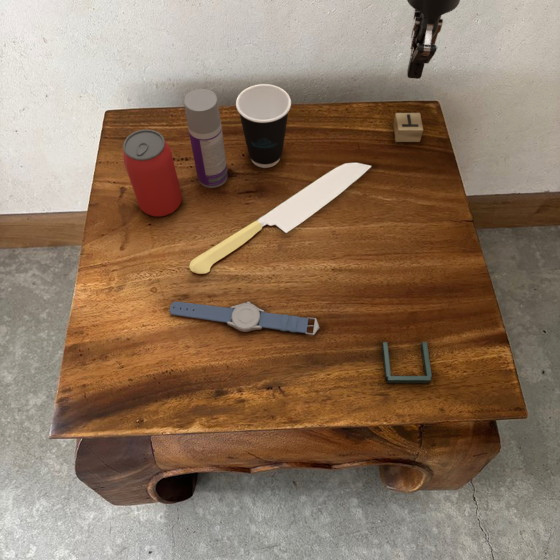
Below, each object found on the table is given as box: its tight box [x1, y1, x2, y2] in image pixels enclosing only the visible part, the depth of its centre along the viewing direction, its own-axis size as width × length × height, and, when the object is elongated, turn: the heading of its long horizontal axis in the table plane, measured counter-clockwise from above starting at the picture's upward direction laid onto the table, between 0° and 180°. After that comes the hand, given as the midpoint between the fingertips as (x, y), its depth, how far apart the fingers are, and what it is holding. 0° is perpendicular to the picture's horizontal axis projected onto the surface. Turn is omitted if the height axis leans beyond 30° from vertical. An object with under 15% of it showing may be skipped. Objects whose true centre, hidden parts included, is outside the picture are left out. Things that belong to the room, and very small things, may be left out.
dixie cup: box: [235, 83, 292, 169], centre depth 83 cm, size 8×8×11 cm
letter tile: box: [392, 112, 424, 143], centre depth 89 cm, size 4×4×3 cm
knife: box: [188, 162, 372, 275], centre depth 81 cm, size 1×34×5 cm
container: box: [183, 88, 229, 189], centre depth 79 cm, size 5×5×15 cm
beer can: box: [122, 128, 183, 217], centre depth 78 cm, size 7×7×12 cm
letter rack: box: [381, 341, 433, 384], centre depth 69 cm, size 5×6×1 cm
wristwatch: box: [169, 301, 321, 336], centre depth 72 cm, size 4×20×1 cm, turn 81°
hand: (413, 75), depth 88 cm, fingers closed
